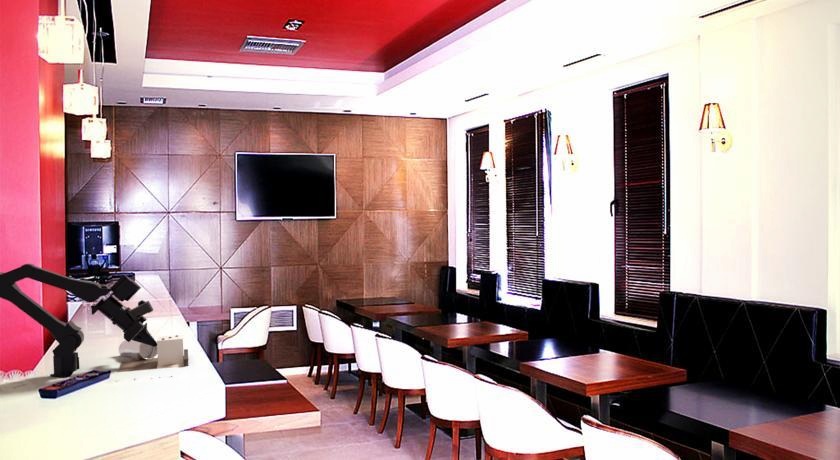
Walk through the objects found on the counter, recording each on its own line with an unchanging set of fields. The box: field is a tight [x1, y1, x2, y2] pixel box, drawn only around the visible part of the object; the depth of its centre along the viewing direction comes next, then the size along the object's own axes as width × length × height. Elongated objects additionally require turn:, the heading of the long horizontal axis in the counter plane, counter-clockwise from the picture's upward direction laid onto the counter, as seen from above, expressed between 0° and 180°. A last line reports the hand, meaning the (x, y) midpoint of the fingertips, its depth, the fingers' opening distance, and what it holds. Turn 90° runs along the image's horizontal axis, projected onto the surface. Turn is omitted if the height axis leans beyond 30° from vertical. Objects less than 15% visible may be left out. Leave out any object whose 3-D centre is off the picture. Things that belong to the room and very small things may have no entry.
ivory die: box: [156, 334, 184, 365], centre depth 223 cm, size 8×8×8 cm
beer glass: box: [118, 339, 158, 360], centre depth 232 cm, size 7×7×15 cm
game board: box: [117, 348, 189, 373], centre depth 221 cm, size 20×18×3 cm
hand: (156, 345), depth 221 cm, fingers closed, pressing on ivory die
